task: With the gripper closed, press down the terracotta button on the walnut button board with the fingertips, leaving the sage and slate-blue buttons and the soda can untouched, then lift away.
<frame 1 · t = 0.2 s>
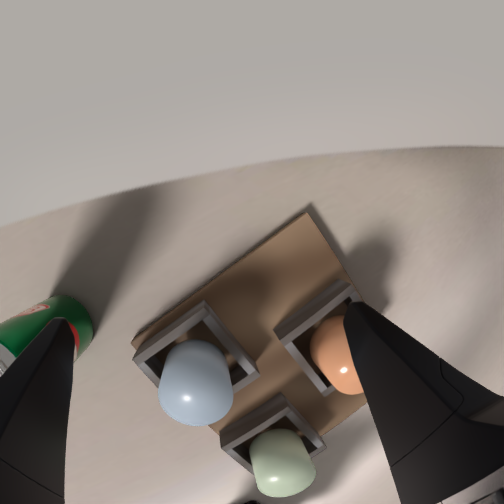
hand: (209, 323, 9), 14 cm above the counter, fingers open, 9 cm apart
terracotta button: (348, 353, 20), point 5 cm above the counter, slide at 0.0 cm
soda can: (68, 322, 22), on the counter
walnut button board: (281, 361, 25), on the counter
sage button: (281, 463, 20), point 5 cm above the counter, slide at 0.0 cm
slate-blue button: (195, 381, 19), point 5 cm above the counter, slide at 0.0 cm
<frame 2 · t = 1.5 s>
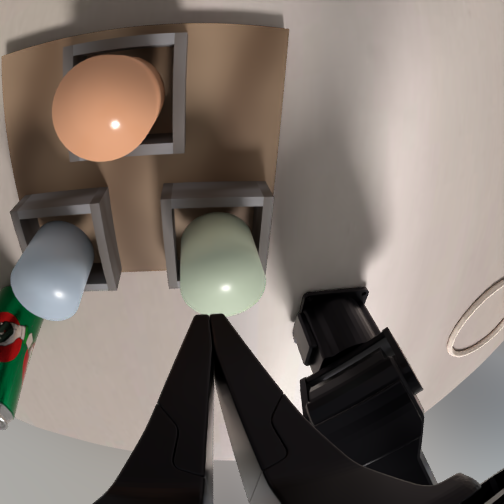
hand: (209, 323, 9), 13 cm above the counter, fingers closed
terracotta button: (113, 102, 12), point 5 cm above the counter, slide at 0.0 cm
hand towel holder: (492, 309, 39), on the counter
soda can: (23, 301, 23), on the counter
walnut button board: (136, 156, 18), on the counter
sage button: (219, 263, 18), point 5 cm above the counter, slide at 0.0 cm
slate-blue button: (53, 270, 16), point 5 cm above the counter, slide at 0.0 cm
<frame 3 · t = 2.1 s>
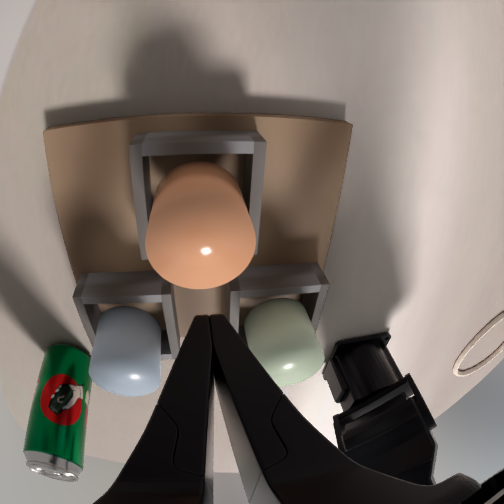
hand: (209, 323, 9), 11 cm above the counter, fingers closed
terracotta button: (198, 221, 14), point 5 cm above the counter, slide at 0.0 cm
hand towel holder: (495, 333, 41), on the counter
soda can: (70, 355, 25), on the counter
walnut button board: (197, 240, 21), on the counter
sage button: (282, 343, 20), point 5 cm above the counter, slide at 0.0 cm
slate-blue button: (126, 352, 18), point 5 cm above the counter, slide at 0.0 cm
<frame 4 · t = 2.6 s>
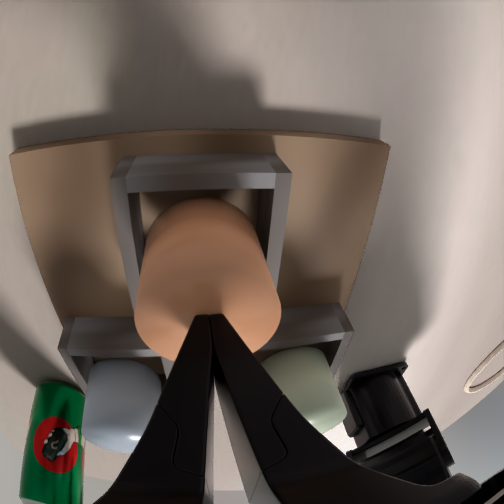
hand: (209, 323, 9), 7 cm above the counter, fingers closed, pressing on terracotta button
terracotta button: (204, 280, 11), point 5 cm above the counter, slide at -0.1 cm, touching gripper
soda can: (63, 391, 22), on the counter
walnut button board: (201, 281, 17), on the counter
sage button: (299, 396, 17), point 5 cm above the counter, slide at 0.0 cm
slate-blue button: (122, 408, 15), point 5 cm above the counter, slide at 0.0 cm
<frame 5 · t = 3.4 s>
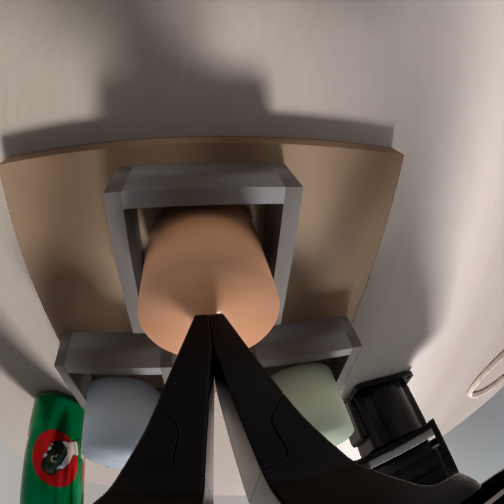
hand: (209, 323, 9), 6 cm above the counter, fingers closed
terracotta button: (205, 275, 11), point 4 cm above the counter, slide at -1.5 cm
soda can: (62, 402, 21), on the counter
walnut button board: (203, 295, 17), on the counter
sage button: (305, 413, 16), point 5 cm above the counter, slide at 0.0 cm
slate-blue button: (123, 426, 14), point 5 cm above the counter, slide at 0.0 cm
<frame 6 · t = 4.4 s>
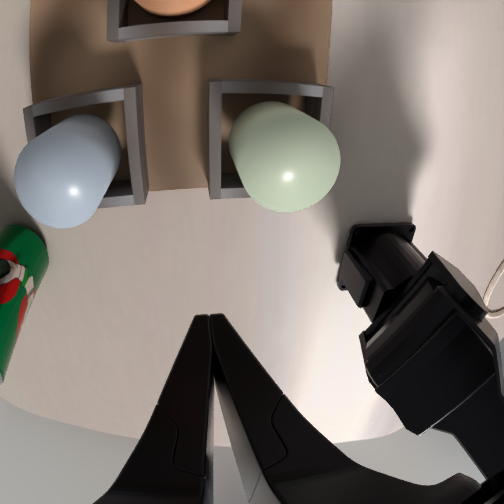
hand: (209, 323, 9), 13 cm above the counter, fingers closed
soda can: (24, 247, 20), on the counter
walnut button board: (175, 54, 15), on the counter
sage button: (280, 151, 14), point 5 cm above the counter, slide at 0.0 cm
slate-blue button: (70, 166, 13), point 5 cm above the counter, slide at 0.0 cm
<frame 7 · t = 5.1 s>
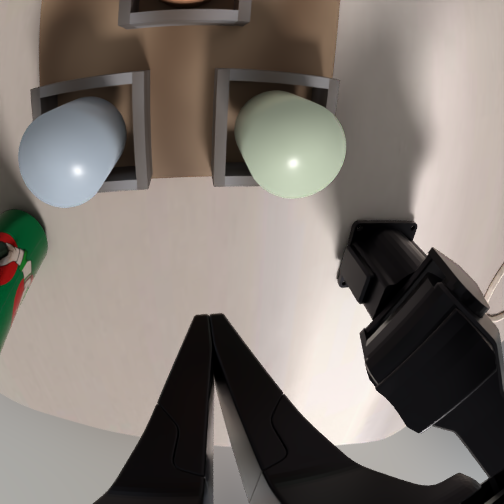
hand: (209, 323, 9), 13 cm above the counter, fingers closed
soda can: (24, 233, 20), on the counter
walnut button board: (184, 43, 15), on the counter
sage button: (285, 139, 14), point 5 cm above the counter, slide at 0.0 cm
slate-blue button: (75, 147, 13), point 5 cm above the counter, slide at 0.0 cm
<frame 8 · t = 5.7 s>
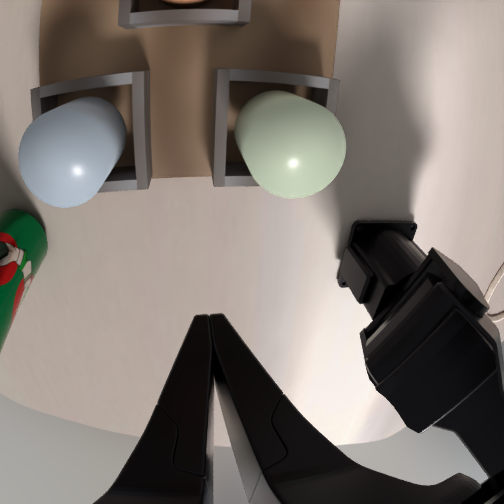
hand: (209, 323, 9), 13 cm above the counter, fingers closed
soda can: (24, 233, 20), on the counter
walnut button board: (184, 43, 15), on the counter
sage button: (285, 139, 14), point 5 cm above the counter, slide at 0.0 cm
slate-blue button: (75, 147, 13), point 5 cm above the counter, slide at 0.0 cm
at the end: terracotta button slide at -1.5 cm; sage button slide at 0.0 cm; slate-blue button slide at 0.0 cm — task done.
